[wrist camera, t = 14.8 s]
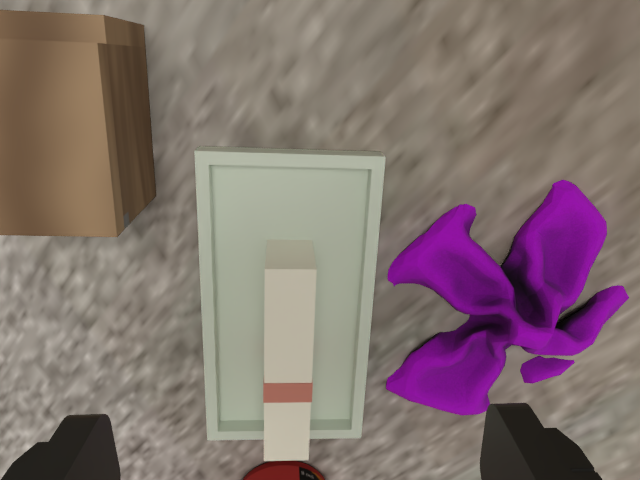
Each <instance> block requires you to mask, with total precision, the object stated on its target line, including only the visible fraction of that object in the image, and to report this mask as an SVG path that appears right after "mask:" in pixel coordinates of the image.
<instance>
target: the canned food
mask: <svg viewBox="0 0 640 480" xmlns="http://www.w3.org/2000/svg"><path fill="white" fill-rule="evenodd" d="M243 480H325V479H324V477H323V476H322V475H321V474H320V473H319V472H318V471H317V470H316V469H315V468H313V467H311V466H309V465H307V464H305V463H302V462H298V461H271V462H268V463H265V464H262V465H260V466H258V467H256V468H254V469H253V470H252V471H250V472H249V473H248V474H247V475H246V476H245V477H244V479H243Z"/></svg>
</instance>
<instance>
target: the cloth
mask: <svg viewBox="0 0 640 480" xmlns="http://www.w3.org/2000/svg"><path fill="white" fill-rule="evenodd" d="M475 216H476V210H475V207H473V206H470V205H468V204H464V205H459V206H458V207H455V208H453V209H451V210H450V211H448V212H447V213H445V214H444V215H443V216H441V217H440V218H439V219H438V220H437V221H436V222H435V223H434V224H433V225H432V227H431V228H430V229H429V230H428V231H427V233H425V234H423V235H421V236H419V237H418V238H417V239H416V240H415V241H414V242H413V243H412V244H411V245H410V246H408V247H407V248H406V249H405V250H404V251H403V252H402V253H400V254H399V255H398V256H397V258H396V259H395V260H394V261H393V263H392V264H391V266H390V268H389V270H388V281H390V282H392V283H393V285H394V287H395V285H397V284H399V283H416V284H420V285H423V286H426V287H428V288H430V289H432V290H434V291H435V292H436V293H438V294H439V295H440V296H441V297H443V298H444V299H445V300H446V301H447V302H449V303H450V304H451V305H452V306H453V307H454V308H455V309H456V310H458V311H460V312H462V313H465V314H470V317H469V320H468V321H467V322H466V323H465V324H463V325H462V326H460V327H459V328H458V329H456V330H455V331H451V332H440V333H438V334H436V335H435V336H434V337H433V338H432V339H431V340H429V341H428V342H427V343H426V344H424V345H423V346H422V347H421V348H420V349H418V350H416V351H414V352H412V353H411V354H410V355H409V357H408V358H407V359H406V360H405V362H404V363H403V364H402V366H401V367H400V368H399V369H398V370H396V371H395V373H394V374H393V375H391V376H390V377H388V379H387V383H386V389H387V390H389V391H391V392H393V393H395V394H397V395H399V396H401V397H403V398H405V399H407V400H409V401H412V402H416V403H420V404H423V405H427V406H430V407H433V408H436V409H439V410H443V411H447V412H451V413H455V414H459V415H474V414H480V413H483V412H485V411H486V410H487V408H488V406H489V405H490V402H489V399H488V395H487V393H488V391H489V389H490V387H491V386H492V384H493V383H494V382H495V380H496V379H497V377H498V376H499V375H500V373H501V371H502V369H503V367H504V366H505V361H506V352H505V349H507V348H508V347H509V346H511V345H517V346H521V347H522V348H523V349H524V350H525V351H526V352H528V353H532V354H539V355H565V356H572V355H575V354H578V353H580V352H582V351H583V350H585V349H586V348H588V347H589V346H590V345H592V344H593V343H594V341H595V339H596V337H597V335H598V333H599V332H600V330H601V328H602V326H603V324H604V323H605V322H606V321H607V320H608V319H609V318H610V317H611V316H612V315H613V314H614V313H615V312H616V311H617V310H618V309H619V308H620V307H621V306H622V305H623V304H624V302H625V301H626V300H627V299H628V298H629V297H628V295H627V293H626V291H625V289H624V287H623V286H612V287H609V288H607V289H605V290H602V291H600V292H598V293H597V294H595V295H594V296H593V297H592V298H591V299H590V300H589V302H588V303H587V304H586V306H585V307H584V308H583V309H581V310H580V311H578V312H576V313H575V314H573V315H572V316H570V317H569V318H567V319H565V320H564V321H562V322H559V323H557V320H558V317H559V315H560V314H561V313H562V312H564V311H565V310H566V309H567V308H569V307H570V306H571V305H573V304H574V303H575V302H576V300H577V298H578V297H579V295H580V293H581V292H582V290H583V288H584V285H585V282H586V280H587V277H588V274H589V271H590V268H591V267H592V265H593V263H594V261H595V259H596V257H597V255H598V253H599V251H600V249H601V247H602V245H603V243H604V240H605V238H606V235H607V226H606V221H605V219H604V218H603V217H602V215H601V214H600V213H599V211H598V210H597V209H596V207H595V206H594V205H593V204H592V203H591V202H590V201H589V200H588V199H587V197H586V196H585V195H584V194H583V193H582V192H581V191H580V190H579V188H578V187H577V186H576V185H574V184H572V183H571V182H569V181H565V180H561V181H558V182H556V183H553V185H552V189H551V191H550V192H549V193H548V195H547V196H546V198H545V199H544V202H543V204H542V205H541V206H540V207H539V208H538V209H537V210H536V211H535V213H534V214H533V215H532V216H531V217H530V218H529V219H528V220H527V222H526V223H525V224H524V225H523V226H522V227H521V229H520V230H519V232H518V233H517V234H516V236H515V238H514V241H513V245H512V248H511V251H510V254H509V256H508V258H507V259H506V261H505V262H504V264H503V265H501V267H500V266H499V265H498V264H497V263H496V262H495V261H494V260H493V259H492V258H491V257H490V256H489V255H488V254H487V253H486V252H485V251H484V250H483V249H482V247H480V246H479V245H478V244H477V243H476V242H474V241H473V240H472V239H471V237H470V236H469V232H470V228H471V225H472V223H473V221H474V219H475ZM556 323H557V324H556ZM574 363H575V362H574V360H564V359H558V358H543V357H541V356H537V357H535V358H533V359H531V360H529V361H527V362H525V363H523V364H522V367H521V369H520V372H521V374H522V377H523V380H524V383H535V382H538V381H541V380H544V379H547V378H550V377H554V376H558V375H561V374H562V373H563V372H564V371H565V370H566V369H568V368H569V367H570V366H571V365H572V364H574Z"/></svg>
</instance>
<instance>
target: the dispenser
mask: <svg viewBox="0 0 640 480" xmlns="http://www.w3.org/2000/svg"><path fill="white" fill-rule="evenodd" d="M155 196H156V188H155V174H154V160H153V147H152V133H151V119H150V105H149V91H148V78H147V64H146V50H145V36H144V25H141V24H137V23H133V22H129V21H125V20H121V19H117V18H113V17H109V16H105V15H89V14H69V13H50V12H30V11H10V10H0V235H29V236H91V237H118V236H119V235H120V233H121V232H122V231H123V230H124V229H125V228H126V227H127V226H128V225H129V224H130V223H131V222H132V221H133V220H134V219H135V217H136V216H137V215H138V214H139V213H140V212H141V211H142V210H143V209H144V208H145V207H146V206H147V205H148V204H149V203H150V202H151V200H152V199H153V198H154V197H155Z"/></svg>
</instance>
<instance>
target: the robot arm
mask: <svg viewBox="0 0 640 480" xmlns="http://www.w3.org/2000/svg"><path fill="white" fill-rule="evenodd" d="M480 472H481V479H482V480H602V478H601V477H600V476H599V474H598V473H597V472H595V471H594V467H593V466H592V464H591V463H590V461H589V460H588V459H587V457H586V456H585V454H584V453H583V451H582V450H581V449H580V447H579V446H578V445H577V444H575V443H574V442H573V441H572V440H570V439H569V438H568V437H567V436H565V435H564V434H563V433H562V432H560V431H559V430H558V429H557V428H544V427H543V426H542V424H541V423H540V421H539V419H538V418H537V416H536V415H535V413H534V412H533V410H532V409H531V407H530V406H529V405H528V404H526V403H507V404H490V405H489V406H488V408H487V412H486V419H485V426H484V434H483V441H482V449H481V457H480ZM1 480H120V467H119V462H118V457H117V452H116V447H115V442H114V437H113V431H112V426H111V422H110V419H109V417H108V415H106V414H90V415H68V416H67V417H65V418H64V420H63V421H62V422H61V424H60V425H59V427H58V428H57V430H56V431H55V433H54V434H53V436H52V437H51V439H50V440H49V442H38V443H36V444H35V445H34V446H33V447H31V448H30V449H29V450H28V451H27V452H25V453H24V454H23V455H22V456H20V457H19V458H18V459H17V460H16V461H14V462H13V463H12V465H11V466H10V468H9V469H8V470H7V472H6V473H5V475H4V476H3V477H2V479H1Z"/></svg>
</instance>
